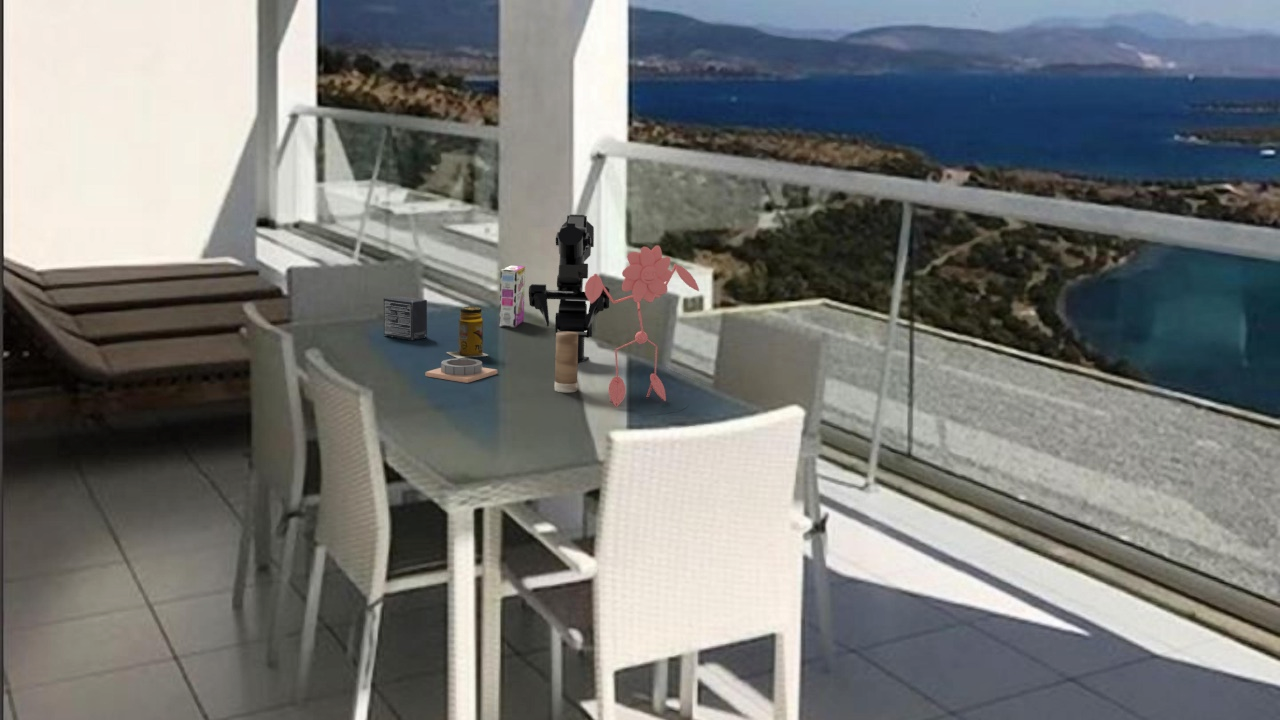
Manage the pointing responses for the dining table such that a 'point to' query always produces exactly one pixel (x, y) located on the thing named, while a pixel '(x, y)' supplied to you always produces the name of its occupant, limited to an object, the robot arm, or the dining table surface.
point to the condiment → (470, 333)
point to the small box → (405, 317)
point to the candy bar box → (512, 296)
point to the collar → (461, 370)
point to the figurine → (644, 283)
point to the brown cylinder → (566, 362)
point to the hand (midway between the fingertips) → (567, 326)
